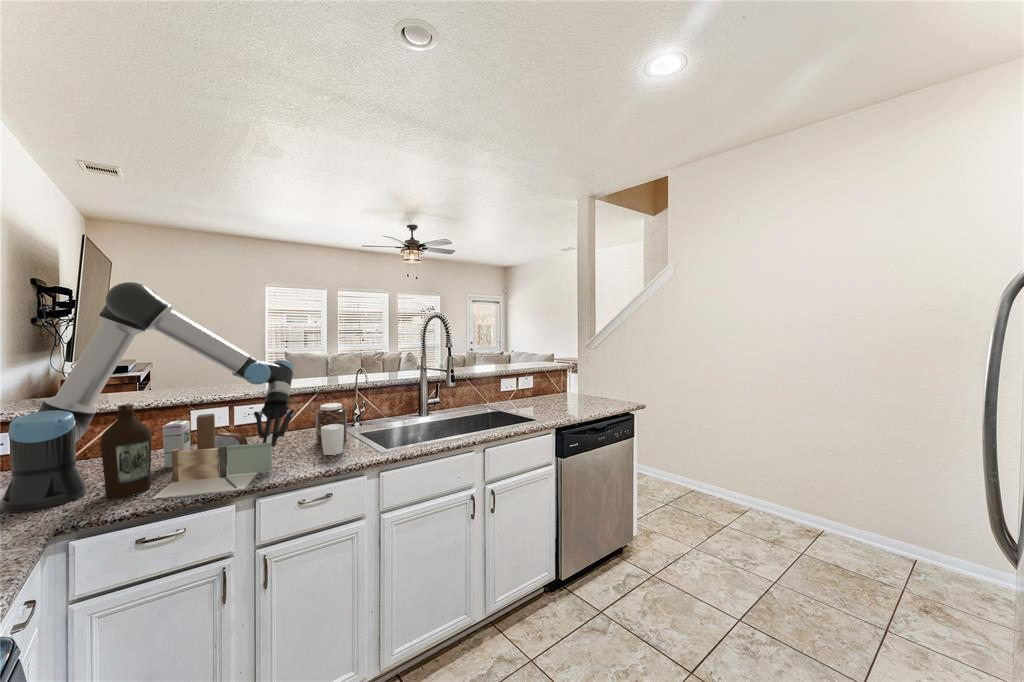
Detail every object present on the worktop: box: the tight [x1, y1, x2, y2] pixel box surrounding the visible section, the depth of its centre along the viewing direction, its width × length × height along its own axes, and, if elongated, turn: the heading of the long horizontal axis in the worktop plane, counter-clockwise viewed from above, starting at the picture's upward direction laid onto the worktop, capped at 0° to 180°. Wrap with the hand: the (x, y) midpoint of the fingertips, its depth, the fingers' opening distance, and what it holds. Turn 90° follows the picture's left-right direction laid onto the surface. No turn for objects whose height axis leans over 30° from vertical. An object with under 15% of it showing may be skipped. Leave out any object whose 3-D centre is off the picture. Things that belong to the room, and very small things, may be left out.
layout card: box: [151, 473, 258, 500], centre depth 122 cm, size 22×14×1 cm, turn 108°
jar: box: [315, 402, 348, 446], centre depth 168 cm, size 12×12×15 cm
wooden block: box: [196, 413, 216, 450], centre depth 134 cm, size 9×4×18 cm, turn 123°
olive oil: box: [100, 403, 153, 499], centre depth 117 cm, size 11×11×25 cm
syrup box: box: [162, 420, 192, 468], centre depth 140 cm, size 6×6×14 cm
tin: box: [215, 430, 248, 457], centre depth 149 cm, size 15×3×8 cm, turn 76°
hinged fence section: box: [226, 442, 273, 475], centre depth 130 cm, size 12×1×9 cm, turn 108°
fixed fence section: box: [171, 445, 228, 482], centre depth 126 cm, size 14×2×10 cm, turn 108°
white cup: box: [321, 424, 344, 456], centre depth 152 cm, size 8×8×10 cm
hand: (267, 454), depth 136 cm, fingers closed
